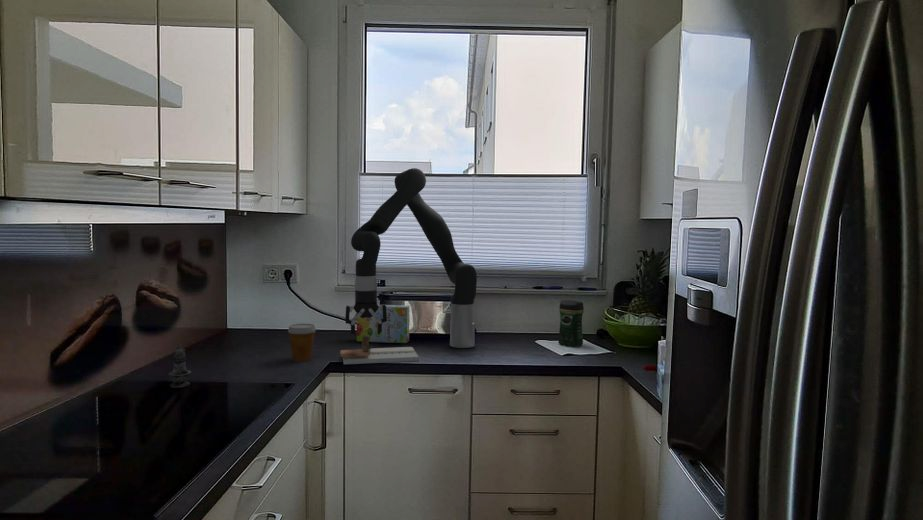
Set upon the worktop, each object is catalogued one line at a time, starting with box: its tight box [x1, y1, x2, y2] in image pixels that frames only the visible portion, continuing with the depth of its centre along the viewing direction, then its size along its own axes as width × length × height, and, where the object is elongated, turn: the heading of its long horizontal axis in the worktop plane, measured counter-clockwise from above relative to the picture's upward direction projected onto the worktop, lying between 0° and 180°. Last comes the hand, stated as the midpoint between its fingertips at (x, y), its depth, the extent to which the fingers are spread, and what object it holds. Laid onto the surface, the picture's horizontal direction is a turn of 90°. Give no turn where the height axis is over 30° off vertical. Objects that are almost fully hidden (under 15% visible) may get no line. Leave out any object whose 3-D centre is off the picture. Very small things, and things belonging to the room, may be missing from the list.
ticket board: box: [342, 346, 420, 365], centre depth 187 cm, size 26×13×2 cm, turn 105°
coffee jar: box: [557, 299, 585, 348], centre depth 214 cm, size 10×8×19 cm
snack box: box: [356, 304, 410, 344], centre depth 214 cm, size 21×6×15 cm, turn 84°
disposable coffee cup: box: [287, 323, 317, 363], centre depth 182 cm, size 10×10×12 cm
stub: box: [339, 334, 370, 358], centre depth 181 cm, size 10×5×6 cm, turn 105°
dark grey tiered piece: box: [168, 343, 192, 389], centre depth 151 cm, size 6×6×12 cm
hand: (366, 334), depth 182 cm, fingers open, 8 cm apart
